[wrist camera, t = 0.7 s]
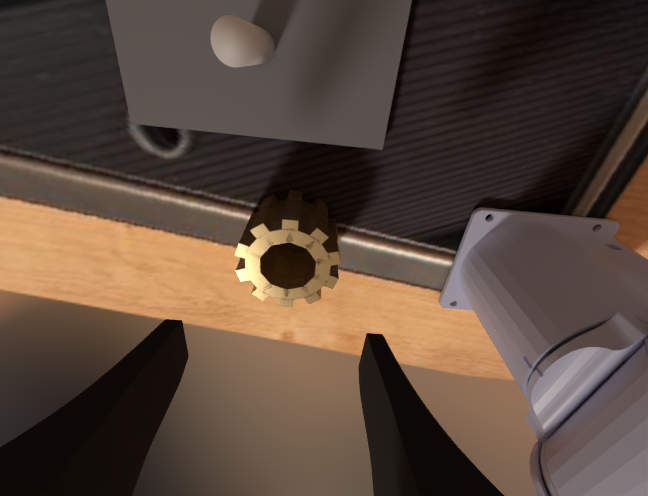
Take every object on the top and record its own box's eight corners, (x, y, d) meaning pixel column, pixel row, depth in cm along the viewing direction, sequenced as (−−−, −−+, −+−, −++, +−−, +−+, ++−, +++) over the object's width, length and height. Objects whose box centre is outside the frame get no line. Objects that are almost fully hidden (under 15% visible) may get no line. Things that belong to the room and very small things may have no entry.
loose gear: (342, 195, 19) (347, 225, 16) (331, 270, 22) (333, 309, 19) (248, 186, 19) (232, 215, 15) (250, 264, 22) (237, 303, 18)
